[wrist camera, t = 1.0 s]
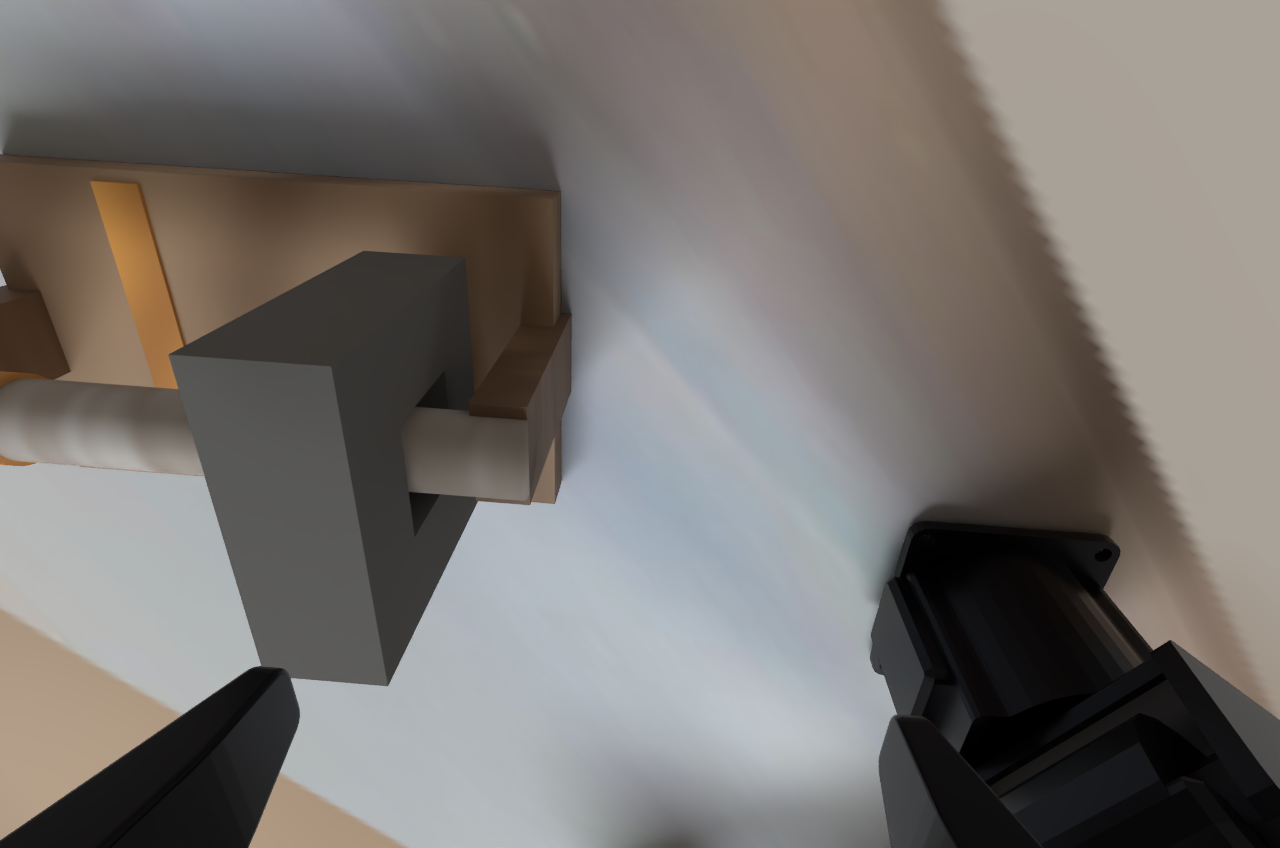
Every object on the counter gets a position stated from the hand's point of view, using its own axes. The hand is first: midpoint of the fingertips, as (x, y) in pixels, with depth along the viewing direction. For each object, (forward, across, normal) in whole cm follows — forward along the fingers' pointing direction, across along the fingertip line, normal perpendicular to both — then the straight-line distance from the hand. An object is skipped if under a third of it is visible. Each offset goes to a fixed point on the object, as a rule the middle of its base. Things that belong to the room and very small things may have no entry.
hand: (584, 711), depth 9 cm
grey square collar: (+9, +5, 0) cm, 11 cm away
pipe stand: (+12, +10, 0) cm, 15 cm away
